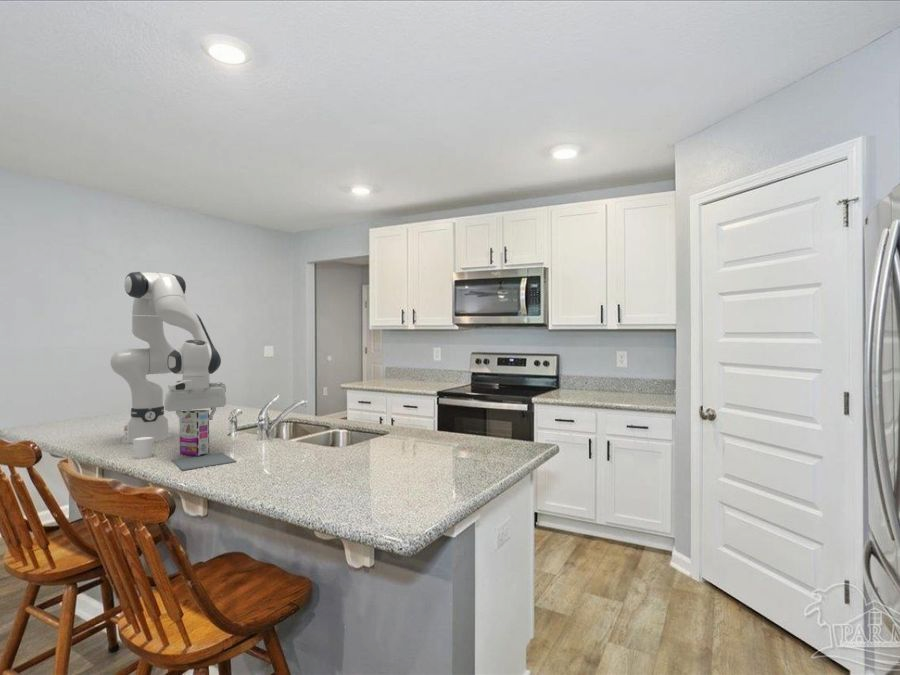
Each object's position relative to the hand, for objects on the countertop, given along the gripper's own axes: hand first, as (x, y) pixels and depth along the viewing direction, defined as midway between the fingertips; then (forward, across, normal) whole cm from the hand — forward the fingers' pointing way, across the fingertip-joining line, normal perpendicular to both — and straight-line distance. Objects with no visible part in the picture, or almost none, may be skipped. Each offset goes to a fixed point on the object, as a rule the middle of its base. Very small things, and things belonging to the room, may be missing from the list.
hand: (196, 421), depth 181 cm
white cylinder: (+13, +15, -12) cm, 23 cm away
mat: (+13, 0, +10) cm, 17 cm away
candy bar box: (+13, 0, -2) cm, 13 cm away
